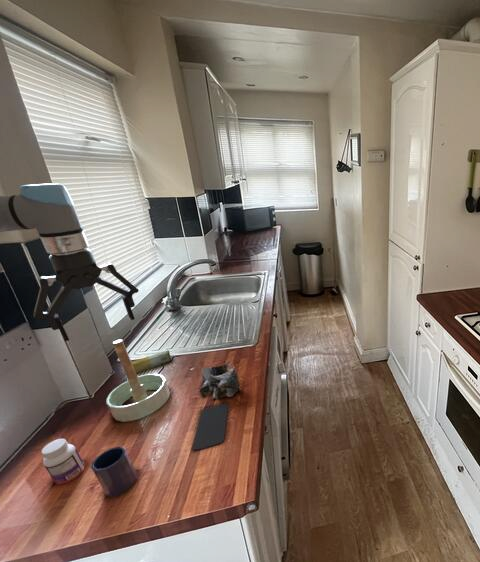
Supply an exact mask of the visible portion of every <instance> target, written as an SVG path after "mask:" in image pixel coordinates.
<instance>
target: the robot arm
mask: <svg viewBox="0 0 480 562" xmlns="http://www.w3.org/2000/svg"><path fill="white" fill-rule="evenodd" d="M18 190H19V194H12V195H0V233H5V232H14V231H15V232H16V231H23V230H24V231H25V230H33V229H35V230H36V231H37V234H38V236H39V238H40V240H41V242H42V245H43V247H44V249H45V251H46V253H47V254H50V255H49V256H48V258H49V261H50V263H51V265H52V268H53V270H54V272H55V274H54V275H50V276H45V275H41V276H39V277H38V281H39V285H40V286H39V291H38V295H37V299H36V301H35V302H36V303H35V306H34V310H33V313H32V314H33V318H34V319H35V320H42V319H43V320H47V321H48V324H49V326H50V328H51V330H53V331H57V330H59V331H60V333H61V335H62V337H63V339H64V342H68V341H70V338H69V335H68V333H67V332H66V329H65V327H64V325H63V323H62V320H61V319H60V316H59V314H58V313H57V312H58V311H59V309H60V307H61V306H62V305H63V303H64V302H65V299H66V298H67V296H68V295H69V294H70V293H71V291H72V290H81V289H84V288H89V287H93V286H95V285H96V284H97V285H100V286H103V287H105V288H107V289H109V290H112V291H113V292H116V293H118V294H120V295H122V296H121V300H122V302H123V304H124V307H125V310H126V313H127V316H128V318H129V319H130V320H131V321H133V320H136V318H135V315H134V313H133V309H132V308H134V307H136V304H135V301H134V298H133V295H135V294H138V293H139V291H140V290H139V289H138V288H137V287H136V286H135V285H133V283H131V282H130V281H129V279H127V278H125V277H124V276H123V275H122V274H120V273H119V272H118V271H117V269H116V267H115V265H114V264H113V263H111V262H106V264H103V265H100V266H99V265H98V264H97V262H96V260H95V257H94V254H93V251H92V250H91V249H90V248H89V247H90V244H89V242H88V239H87V236H86V234H85V231H84V229H83V226H82V223H81V221H80V218H79V215H78V212H77V209H76V207H75V203H74V201H73V199H72V197H71V195H70V193H69V191H68V189H67V187H66V186H65V185H64V184H61V183H38V184H37V183H34V184H33V183H32V184H24V185H20V186H19V187H18ZM102 272H105V273H106V274H111V275H112V276H114V277H115V278H116V279H117V280H118V281H119V282H121V283H122V284H123V285H125V287H126V288H128V290H127V289H125V288H123V287H120V286H119V285H116V284H114V283H112V282H111V281H108V280H106V279H104V278H102V277H101V273H102ZM54 282H58V283H59V284H62V285H61V287H60V289H59V290H58V292H57V294H56V296H55V297H54V299H53V300H52V302H51V304H50V305H49V306H48V308H47V310H46V311H45V308H46V307H45V306H46V302H47V299H48V295H49V290H50V287H51V286H53V285H54Z"/></svg>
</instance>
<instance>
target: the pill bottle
mask: <svg viewBox="0 0 480 562" xmlns="http://www.w3.org/2000/svg"><path fill="white" fill-rule="evenodd" d="M41 454H42V457H43V459H42V464H43V466H44V469H46V471H47V473H48V474H49V475H50V477H51V479H52V480H53V482H54V483H55V484H57V485H63V484H65V483H68V482H70V481H72V480H74V479H76V478H77V477H78V476H80V474H82V472H83V471H84V469H85V468H86V464H85V462H84V460H83V458H82V457H81V455H80V454H79V452H78V450H77V448H76V446H75V445H73V444H71V443H68V441H67V439H65V438H58V439H54V440H52V441H51V442H49V443H47V444H46V445H45V446H44V447H43V448H42V449H41Z"/></svg>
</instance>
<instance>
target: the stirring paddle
mask: <svg viewBox="0 0 480 562" xmlns="http://www.w3.org/2000/svg"><path fill="white" fill-rule="evenodd" d="M112 345H113V348H114V350H115V353H116V355H117V358H118V360H119V362H120V364H121V367H122V369H123V371H124V374H125V377H126V378H127V381H129V383H130V386H131V388H132V389H130V392H131V394H132V399H133V401H134V403H137V402H139V401H141V400H144V399H146V398H147V397H149V395H148V392H147V391H145V388H144V386H143V384H140V382H139V379H138V374H137V373H136V372H135V370H134V367H133V365H132V362H133V361H132V360H131V358H130V356H129V352H128V350H127V347H126V346H125V343H124V340H123V339H122V338H121V339H116V340H114V341H113V342H112Z"/></svg>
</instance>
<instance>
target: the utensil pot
mask: <svg viewBox="0 0 480 562" xmlns="http://www.w3.org/2000/svg"><path fill="white" fill-rule="evenodd" d="M90 468H91V469H90V470H92V473H93V474H94V476H95V477H96V479H97V481H98V483H99V485H100V487H101V488H102V490H103V492H104V494H105V496H106V497H111V498H114V497H118V496H120V495H122V494H124V493H125V492H127V491H129V490H130V488H132V487H133V486H134V485H135V483H136V482H137V480H138V472H137V471H136V468H135V466H134V464H133V463H132V459H131V458H130V456H129V454H128V452H127V449H125V447H124V446H114V447H110V448H109V449H106V450H105V451H103V452H101V453H100V454H99V455H98V456H96V457H95V459H94V460H93V461H92V463H91V466H90Z"/></svg>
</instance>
